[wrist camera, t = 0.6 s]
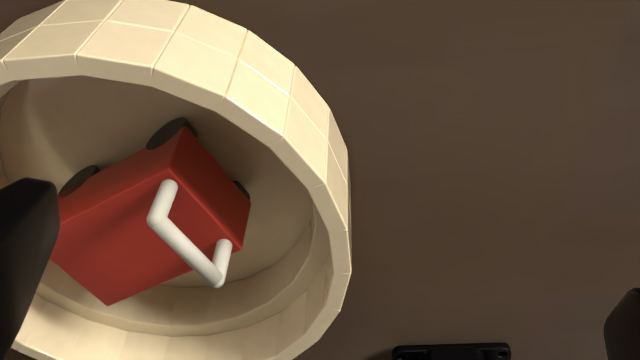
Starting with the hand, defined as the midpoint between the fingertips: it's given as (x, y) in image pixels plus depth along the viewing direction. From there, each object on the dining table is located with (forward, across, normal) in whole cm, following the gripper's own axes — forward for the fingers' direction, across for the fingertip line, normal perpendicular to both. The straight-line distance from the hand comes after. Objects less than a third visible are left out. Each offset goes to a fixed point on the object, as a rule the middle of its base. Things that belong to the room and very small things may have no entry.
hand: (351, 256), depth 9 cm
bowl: (+14, +6, +10) cm, 18 cm away
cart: (+13, +6, +10) cm, 18 cm away
